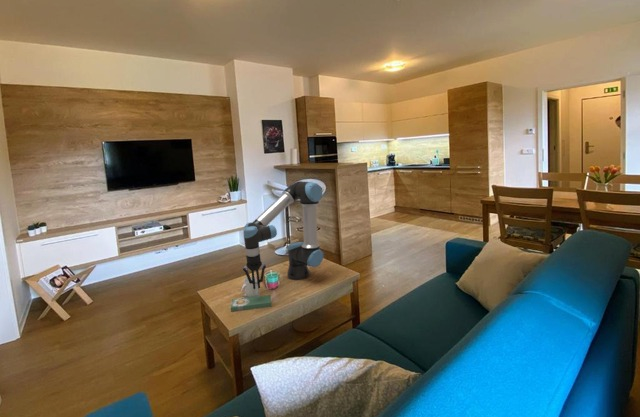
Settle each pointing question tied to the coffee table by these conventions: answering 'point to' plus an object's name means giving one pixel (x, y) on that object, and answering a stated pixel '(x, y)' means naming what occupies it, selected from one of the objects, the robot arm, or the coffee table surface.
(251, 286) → the mug
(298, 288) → the coffee table surface
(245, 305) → the putting strip
